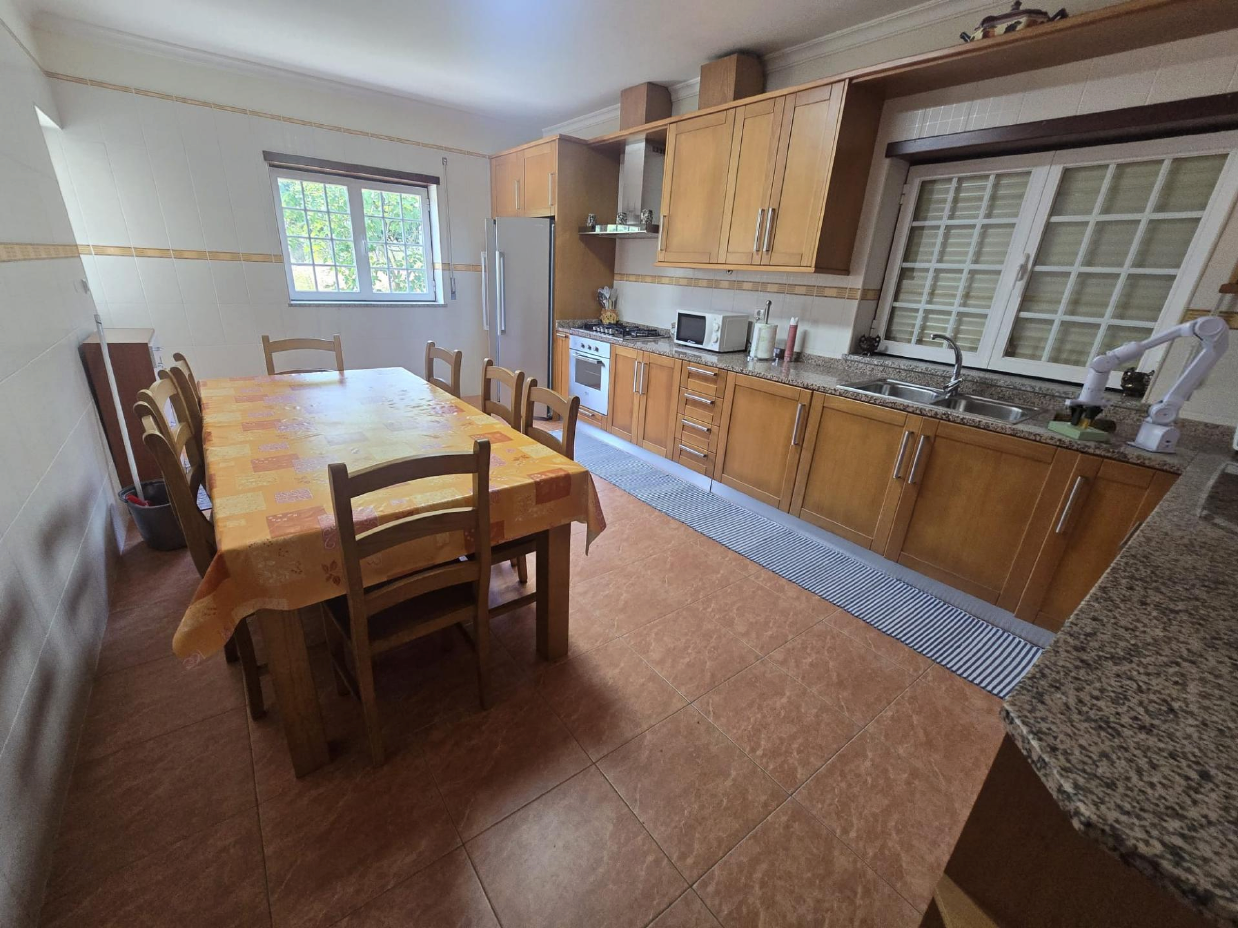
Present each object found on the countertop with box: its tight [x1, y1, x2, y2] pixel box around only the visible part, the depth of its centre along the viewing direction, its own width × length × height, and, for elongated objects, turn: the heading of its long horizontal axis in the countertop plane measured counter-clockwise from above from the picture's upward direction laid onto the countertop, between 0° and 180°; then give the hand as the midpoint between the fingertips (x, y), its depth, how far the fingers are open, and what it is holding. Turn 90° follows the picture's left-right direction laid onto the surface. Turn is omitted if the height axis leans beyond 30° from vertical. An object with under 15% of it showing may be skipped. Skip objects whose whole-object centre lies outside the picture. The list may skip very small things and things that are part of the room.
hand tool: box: [1052, 411, 1118, 433], centre depth 198 cm, size 19×4×5 cm, turn 37°
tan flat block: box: [1070, 416, 1091, 429], centre depth 184 cm, size 6×1×4 cm, turn 178°
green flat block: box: [1047, 420, 1110, 442], centre depth 185 cm, size 14×10×3 cm
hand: (1079, 425), depth 184 cm, fingers open, 3 cm apart
